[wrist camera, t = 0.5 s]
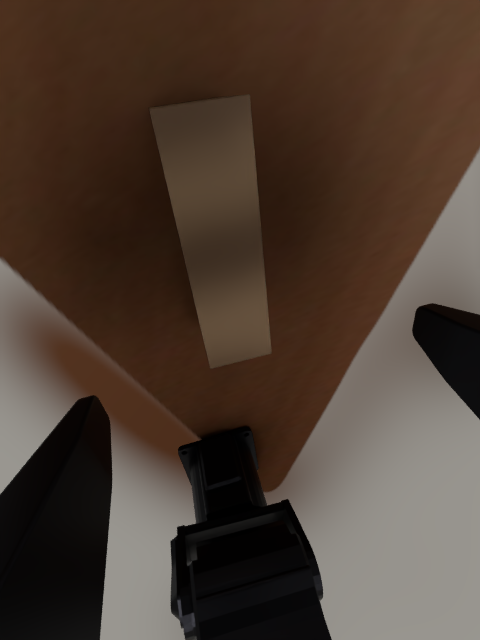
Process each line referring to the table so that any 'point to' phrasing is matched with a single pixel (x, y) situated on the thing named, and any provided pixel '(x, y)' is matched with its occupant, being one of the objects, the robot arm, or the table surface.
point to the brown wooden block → (218, 220)
